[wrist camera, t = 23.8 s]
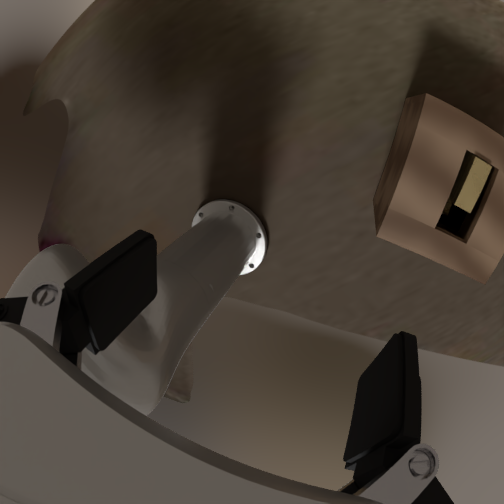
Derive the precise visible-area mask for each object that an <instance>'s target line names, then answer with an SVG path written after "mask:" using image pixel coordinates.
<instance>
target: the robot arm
mask: <svg viewBox="0 0 504 504" xmlns="http://www.w3.org/2000/svg"><path fill="white" fill-rule="evenodd" d="M233 206H234V207H233ZM267 242H268V241H267V235H266V232H265V229H264V226H263V225H262V223H261V221H260V220H259V218H258V217H257V216H256V215H255V214H254V213H253V212H252V211H251V210H250V209H249V208H248V207H246V206H244V205H243V204H241V203H238V202H236V201H233V200H227V199H218V200H214V201H211V202H209V203H207V204H206V205H204V206H203V207H201V208H200V209H199V210H198V211H197V213H196V215H195V216H194V219H193V222H192V228H191V229H189V230H188V231H187V232H185V233H184V234H183V235H182V236H180V237H179V238H178V239H177V240H175V241H174V242H173V243H172V244H170V245H169V246H168V247H167V248H165V249H164V250H163V251H162V252H160V253H159V254H158V255H157V242H156V240H155V239H154V236H153V235H152V234H150V233H148V232H146V231H143V230H138V231H136V232H135V233H133V234H132V235H130V236H129V237H127V238H126V239H124V240H123V241H121V242H120V243H118V244H117V245H116V246H114V247H113V248H111V249H110V250H108V251H107V252H106V253H104V254H103V255H101V256H100V257H99V258H97V259H96V260H94V261H93V262H92V263H89V262H88V261H87V259H86V258H85V257H84V256H83V255H82V254H81V253H80V252H79V251H78V250H77V249H76V248H74V247H72V246H70V245H67V244H57V245H53V246H50V247H48V248H46V249H44V250H43V251H41V252H40V253H39V254H38V255H36V256H35V257H34V258H33V259H32V260H31V261H30V262H29V263H28V264H27V265H26V267H25V268H24V269H23V270H22V272H21V273H20V274H19V276H18V277H17V279H16V280H15V282H14V283H13V285H12V286H11V288H10V290H9V292H8V294H7V295H6V297H5V298H1V299H0V504H454V503H453V501H452V500H451V498H450V497H449V495H448V494H447V493H446V491H445V490H444V488H443V487H442V485H441V484H440V482H439V481H438V479H437V478H436V477H435V475H436V473H437V471H438V467H439V460H438V455H437V453H436V452H435V450H434V449H433V448H432V447H431V446H429V445H427V444H420V437H421V379H420V376H419V364H418V352H417V351H418V350H417V339H416V336H415V335H412V334H409V333H406V332H403V331H401V332H400V333H399V334H397V333H395V334H394V335H393V336H392V338H391V339H390V340H389V342H388V343H387V344H386V345H385V347H384V348H383V349H382V351H381V352H380V353H379V354H378V356H377V357H376V358H375V359H374V361H373V362H372V363H371V364H370V366H369V367H368V368H367V369H366V370H365V371H364V373H363V374H362V375H361V377H360V379H359V381H358V386H357V393H356V399H355V404H354V410H353V415H352V421H351V426H350V431H349V435H348V440H347V444H346V448H345V453H344V458H343V459H344V461H345V462H346V465H345V469H348V470H353V471H354V476H353V480H351V481H350V482H349V483H347V484H346V485H345V486H343V487H342V488H340V489H339V490H338V491H333V490H328V489H324V488H320V487H316V486H311V485H308V484H304V483H301V482H297V481H294V480H290V479H287V478H283V477H280V476H276V475H273V474H271V473H268V472H265V471H262V470H259V469H256V468H253V467H251V466H248V465H245V464H242V463H240V462H238V461H235V460H232V459H230V458H228V457H225V456H223V455H220V454H218V453H216V452H214V451H212V450H210V449H207V448H205V447H203V446H201V445H199V444H197V443H195V442H193V441H191V440H188V439H187V438H185V437H183V436H181V435H179V434H177V433H175V432H173V431H172V430H170V429H168V428H166V427H164V426H162V425H161V424H159V423H157V422H156V421H154V420H152V419H150V418H149V417H147V415H148V414H149V413H150V412H152V410H153V409H154V408H155V407H156V406H157V404H158V403H159V402H160V400H161V399H162V397H163V395H164V393H165V391H166V389H167V387H168V385H169V383H170V381H171V378H172V376H173V374H174V372H175V369H176V367H177V365H178V363H179V361H180V359H181V357H182V356H183V354H184V352H185V350H186V349H187V347H188V346H189V344H190V342H191V341H192V340H193V338H194V336H195V335H196V334H197V332H198V331H199V329H200V328H201V327H202V325H203V324H204V323H205V321H206V320H207V318H208V317H209V316H210V314H211V313H212V312H213V310H214V309H215V308H216V306H217V305H218V303H219V302H220V301H221V299H222V298H223V297H224V295H225V294H226V293H227V291H228V290H229V289H230V287H231V286H232V284H233V283H234V282H235V280H236V279H237V278H238V276H239V275H243V274H247V273H250V272H252V271H253V270H255V269H256V268H257V267H258V266H259V265H260V264H261V262H262V261H263V259H264V257H265V255H266V251H267Z"/></svg>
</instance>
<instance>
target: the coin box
mask: <svg viewBox="0 0 504 504" xmlns="http://www.w3.org/2000/svg"><path fill="white" fill-rule="evenodd" d="M466 150H468V151H469V152H471V153H473V154H474V155H476V156H478V157H479V158H481V159H483V160H484V161H486V162H487V163H488V164H489V165H491V166H492V168H491V170H490V173H489V175H488V177H487V180H486V182H485V184H484V186H483V189H482V191H481V193H480V195H479V197H478V199H477V201H476V203H475V205H474V207H473V209H472V211H471V213H469V212H468V213H467V215H466V217H465V219H464V221H463V223H462V225H461V227H460V230H459V232H457V231H455V230H453V229H451V228H449V227H447V226H445V225H443V224H441V223H439V222H438V220H439V218H440V216H441V214H442V212H443V209H444V207H445V205H446V202H447V200H448V198H449V195H450V193H451V190H452V188H453V185H454V183H455V180H456V178H457V175H458V172H459V170H460V167H461V164H462V161H463V158H464V156H465V153H466ZM373 205H374V214H375V225H376V236H377V237H379V238H382V239H384V240H386V241H389V242H391V243H394V244H396V245H399V246H401V247H403V248H406V249H408V250H410V251H413V252H415V253H417V254H420V255H422V256H424V257H427V258H429V259H431V260H433V261H436V262H438V263H440V264H442V265H444V266H447V267H449V268H451V269H453V270H455V271H457V272H460V273H462V274H464V275H466V276H468V277H470V278H472V279H474V280H476V281H478V282H480V283H482V284H484V285H485V284H486V282H487V281H488V279H489V278H490V276H491V274H492V273H493V271H494V269H495V268H496V266H497V264H498V263H499V261H500V259H501V257H502V255H503V254H504V137H502V136H501V135H500V134H498V133H497V132H495V131H494V130H492V129H491V128H489V127H487V126H486V125H484V124H483V123H481V122H479V121H478V120H476V119H475V118H473V117H471V116H469V115H468V114H466V113H464V112H462V111H461V110H459V109H457V108H455V107H453V106H451V105H450V104H448V103H446V102H444V101H442V100H440V99H438V98H436V97H434V96H432V95H429V94H427V93H425V94H421V95H417V96H413V97H409V98H406V100H405V103H404V107H403V111H402V114H401V118H400V121H399V125H398V128H397V131H396V135H395V138H394V141H393V144H392V147H391V150H390V154H389V157H388V160H387V163H386V166H385V168H384V171H383V174H382V177H381V180H380V183H379V185H378V188H377V191H376V194H375V196H374V199H373Z"/></svg>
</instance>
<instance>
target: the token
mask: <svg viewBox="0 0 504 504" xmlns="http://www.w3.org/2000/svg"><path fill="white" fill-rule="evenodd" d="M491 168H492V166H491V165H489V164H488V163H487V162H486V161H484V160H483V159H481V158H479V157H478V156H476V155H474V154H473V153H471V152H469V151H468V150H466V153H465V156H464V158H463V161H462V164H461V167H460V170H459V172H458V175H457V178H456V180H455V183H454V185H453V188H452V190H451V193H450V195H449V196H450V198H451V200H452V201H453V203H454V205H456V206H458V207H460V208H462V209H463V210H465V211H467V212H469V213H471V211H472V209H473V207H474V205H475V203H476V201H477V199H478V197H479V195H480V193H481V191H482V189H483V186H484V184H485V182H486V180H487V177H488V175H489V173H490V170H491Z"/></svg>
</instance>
